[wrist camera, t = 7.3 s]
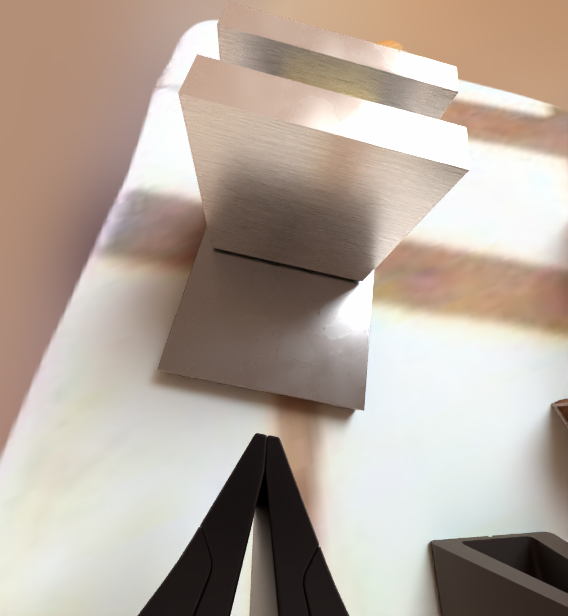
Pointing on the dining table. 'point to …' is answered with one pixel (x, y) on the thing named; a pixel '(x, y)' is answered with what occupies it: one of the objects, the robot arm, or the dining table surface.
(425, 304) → the dining table surface
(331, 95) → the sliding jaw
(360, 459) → the dining table surface
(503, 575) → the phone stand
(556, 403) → the brown cake slice
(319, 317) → the vise base
